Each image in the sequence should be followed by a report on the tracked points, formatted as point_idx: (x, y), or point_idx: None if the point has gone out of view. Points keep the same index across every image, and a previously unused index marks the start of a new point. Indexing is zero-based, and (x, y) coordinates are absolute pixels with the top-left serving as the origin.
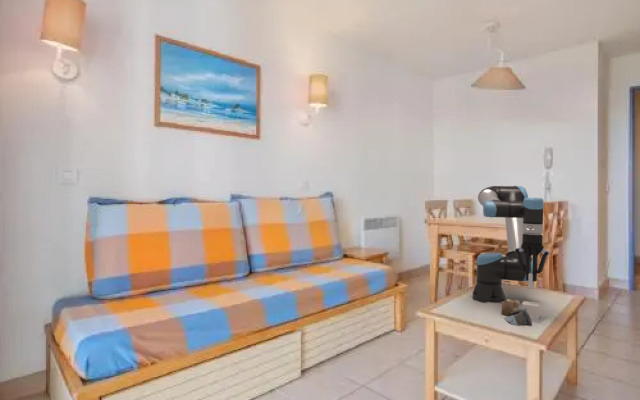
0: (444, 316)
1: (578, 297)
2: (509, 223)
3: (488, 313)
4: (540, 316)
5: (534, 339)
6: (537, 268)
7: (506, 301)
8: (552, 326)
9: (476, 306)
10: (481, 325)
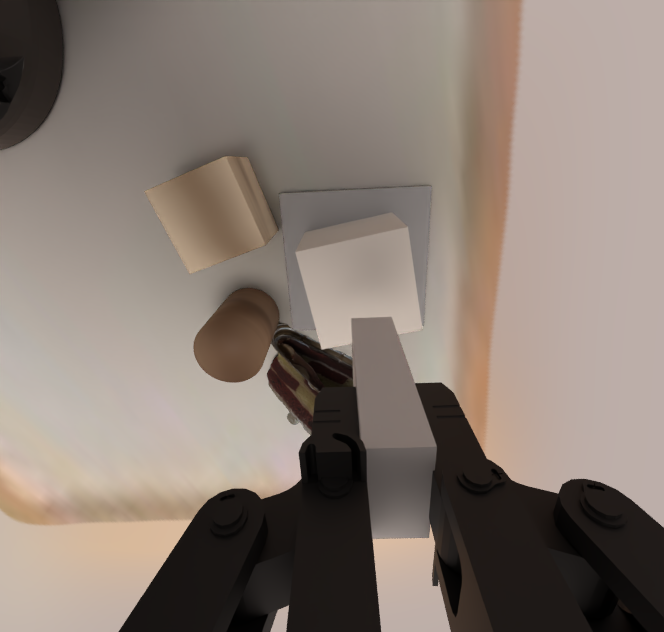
0: (102, 510)
1: None
2: None
3: (170, 347)
4: (394, 194)
5: None
6: (558, 570)
7: (212, 332)
8: (477, 298)
9: (48, 279)
10: None
